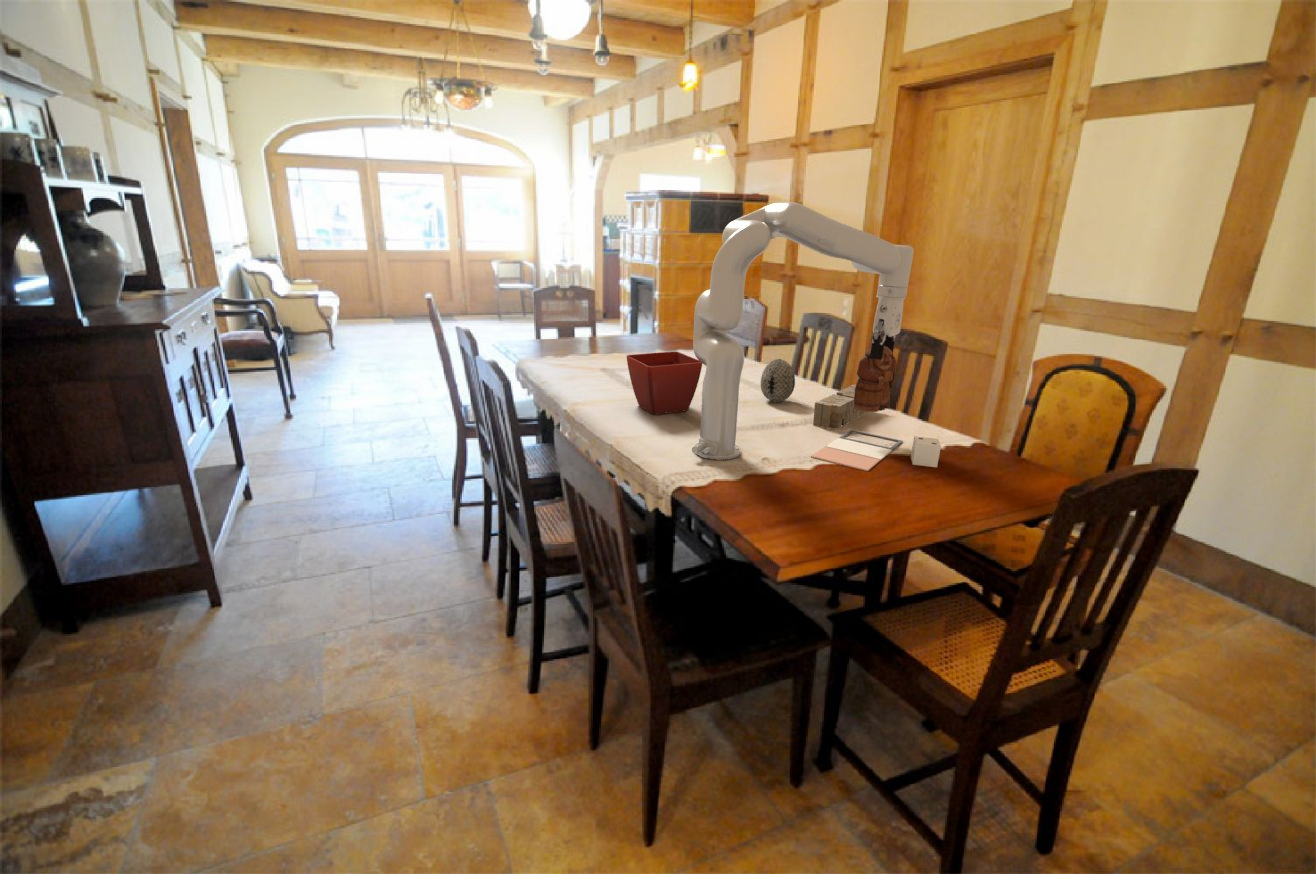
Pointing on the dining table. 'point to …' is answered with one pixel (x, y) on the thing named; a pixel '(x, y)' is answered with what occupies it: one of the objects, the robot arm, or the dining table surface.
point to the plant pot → (664, 380)
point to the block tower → (837, 409)
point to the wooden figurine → (875, 382)
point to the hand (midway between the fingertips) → (881, 356)
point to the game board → (855, 452)
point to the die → (925, 451)
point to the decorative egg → (777, 380)
